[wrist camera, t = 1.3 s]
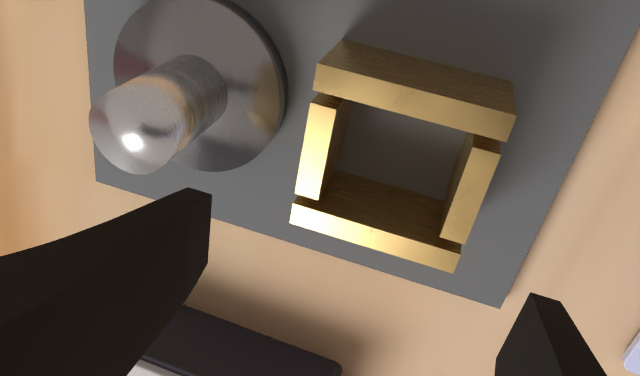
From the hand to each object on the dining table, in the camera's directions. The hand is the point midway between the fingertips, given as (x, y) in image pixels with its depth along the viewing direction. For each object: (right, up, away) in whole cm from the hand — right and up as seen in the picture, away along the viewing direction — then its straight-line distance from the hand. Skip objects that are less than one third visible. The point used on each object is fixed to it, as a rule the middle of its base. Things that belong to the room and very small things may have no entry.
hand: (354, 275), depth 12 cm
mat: (-1, +5, +8) cm, 9 cm away
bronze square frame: (+2, +4, +7) cm, 8 cm away
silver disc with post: (-5, +6, +8) cm, 11 cm away
